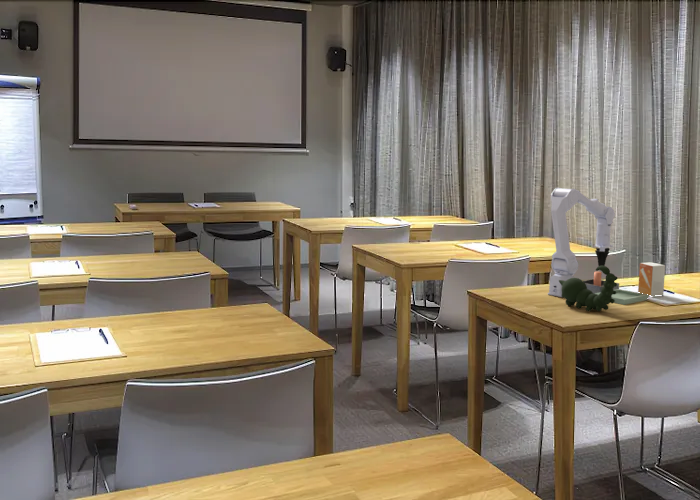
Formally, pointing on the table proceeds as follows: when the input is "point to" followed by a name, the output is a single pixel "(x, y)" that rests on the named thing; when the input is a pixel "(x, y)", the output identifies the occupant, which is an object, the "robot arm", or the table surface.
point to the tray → (627, 297)
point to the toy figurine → (589, 292)
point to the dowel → (597, 278)
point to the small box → (651, 278)
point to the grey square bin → (596, 288)
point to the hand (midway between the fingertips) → (601, 265)
